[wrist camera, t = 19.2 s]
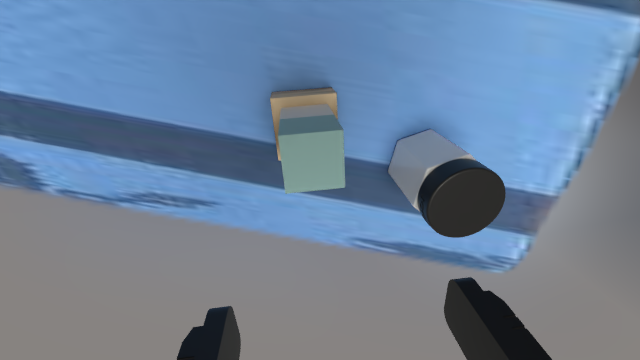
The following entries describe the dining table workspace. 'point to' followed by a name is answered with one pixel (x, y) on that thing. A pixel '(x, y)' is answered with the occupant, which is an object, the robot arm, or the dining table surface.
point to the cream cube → (305, 111)
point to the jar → (446, 184)
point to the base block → (300, 103)
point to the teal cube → (312, 153)
